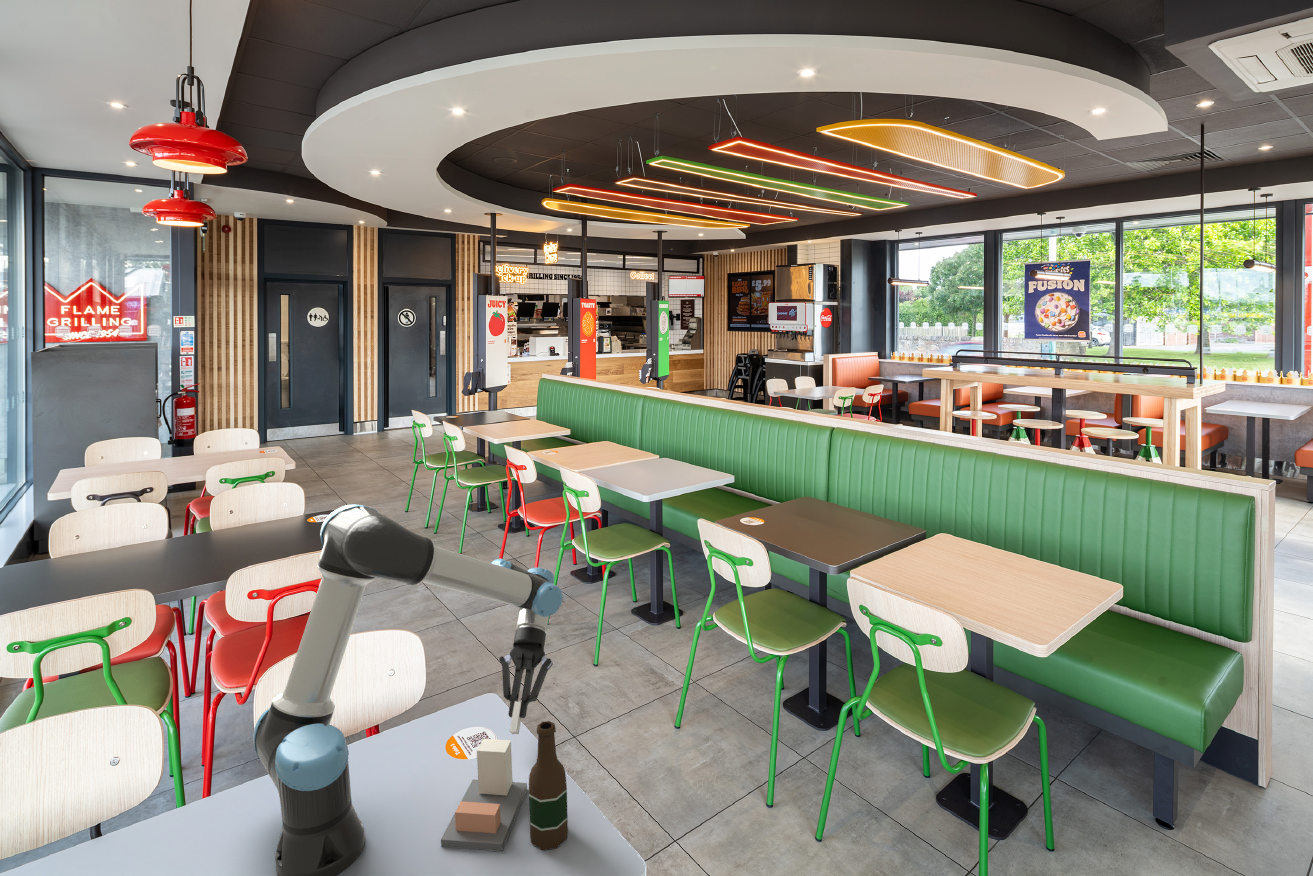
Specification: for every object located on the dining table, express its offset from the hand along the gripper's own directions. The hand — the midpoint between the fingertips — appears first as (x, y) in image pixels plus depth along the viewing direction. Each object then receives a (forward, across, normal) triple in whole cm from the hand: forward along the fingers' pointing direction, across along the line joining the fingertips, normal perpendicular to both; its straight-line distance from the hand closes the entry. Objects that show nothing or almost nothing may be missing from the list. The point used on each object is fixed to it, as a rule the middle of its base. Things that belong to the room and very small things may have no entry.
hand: (514, 732), depth 151 cm
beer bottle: (+20, -13, +10) cm, 26 cm away
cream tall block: (+12, +1, +4) cm, 12 cm away
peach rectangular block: (+19, +1, +11) cm, 22 cm away
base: (+17, +1, +7) cm, 19 cm away
